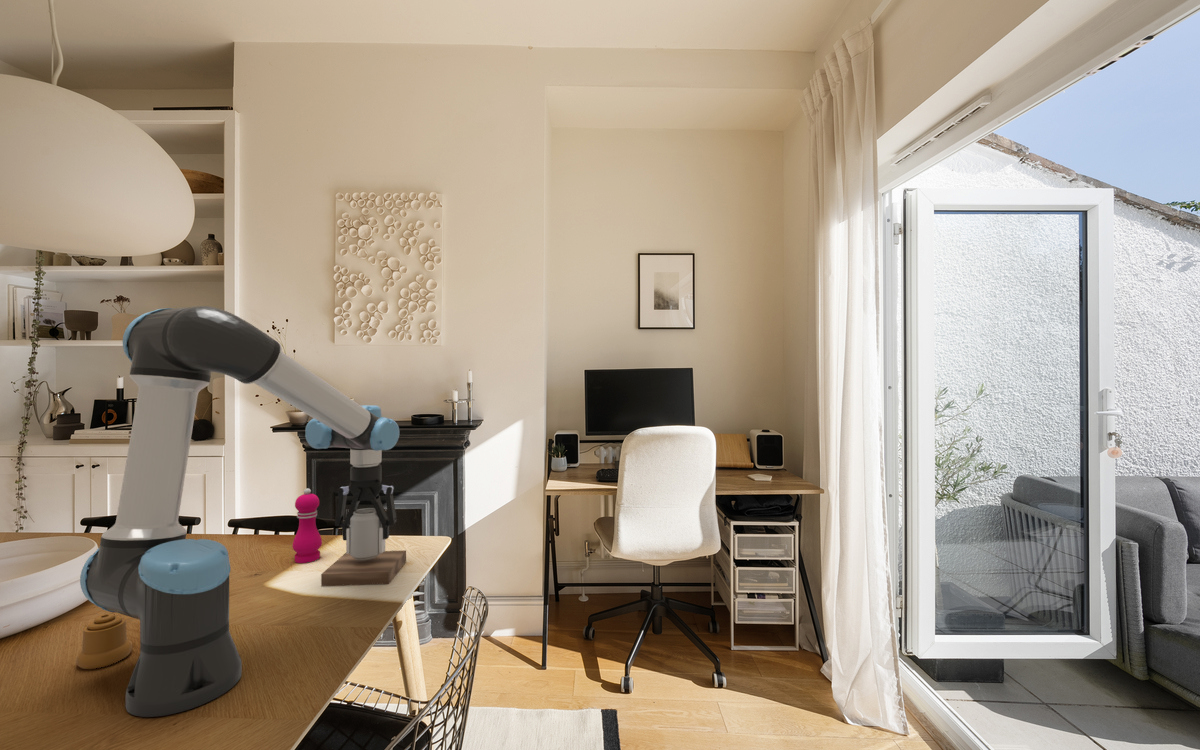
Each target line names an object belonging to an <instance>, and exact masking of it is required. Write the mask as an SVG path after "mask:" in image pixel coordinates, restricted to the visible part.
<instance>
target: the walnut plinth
mask: <svg viewBox="0 0 1200 750" xmlns="http://www.w3.org/2000/svg"><path fill="white" fill-rule="evenodd" d="M405 561H406V562H407V550H406V549H405V550H385V551H384V552H383V553H380V554H379V555H378V556H377V557H375V558H372V559H367V560H356V559H354V558H353V557H352V556H351V555H350V554H346V552H345V553H344V554H342V555H341V556H340V557H339V558H337V560H336V561H335V562H334V563H332V564H331V565H329V567H328V568H327V569H325V570H324V571H323V572H322V573H321V574H320V577H321V578H320V579H321V580H320V582H321V583H320V584H321V587H336V586H340V587H341V586H366V585H367V586H368V585H371V586H373V585H389V584H390V583H391V581H393V579H394V578H395V576H396V575H397V574H398V572H399V571H400V570H401V569H402V567H403V566H404V565H405V563H406V562H405Z"/></svg>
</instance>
